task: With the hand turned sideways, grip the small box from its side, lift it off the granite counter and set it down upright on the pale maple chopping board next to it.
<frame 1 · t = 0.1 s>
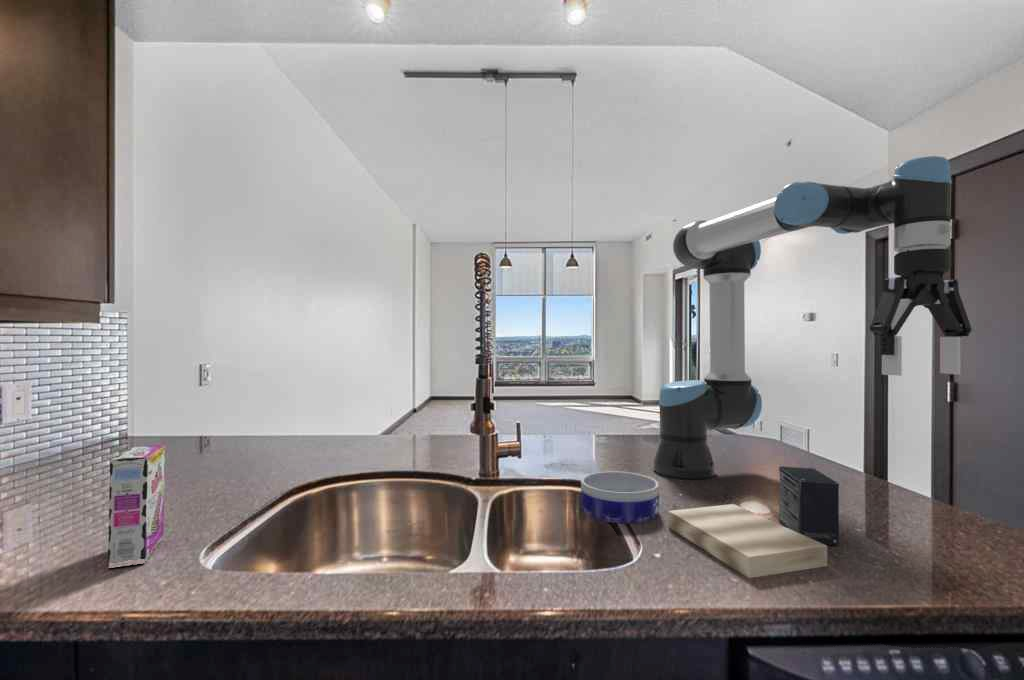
hand: (921, 374, 84), 28 cm above the worktop, tool pointing down, fingers open, 13 cm apart
candy bar box: (138, 554, 79), on the worktop
maple board: (740, 544, 81), on the worktop
small box: (807, 534, 86), on the worktop
dog bowl: (619, 512, 98), on the worktop
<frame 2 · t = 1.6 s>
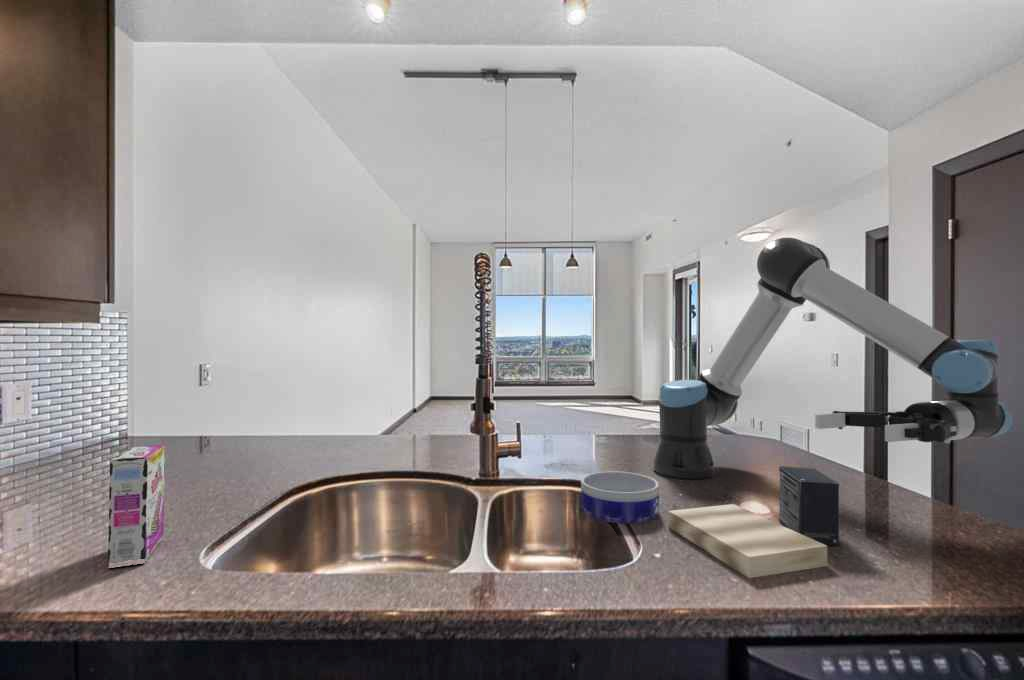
hand: (849, 427, 89), 18 cm above the worktop, tool horizontal, fingers open, 13 cm apart
nothing on the worktop moved.
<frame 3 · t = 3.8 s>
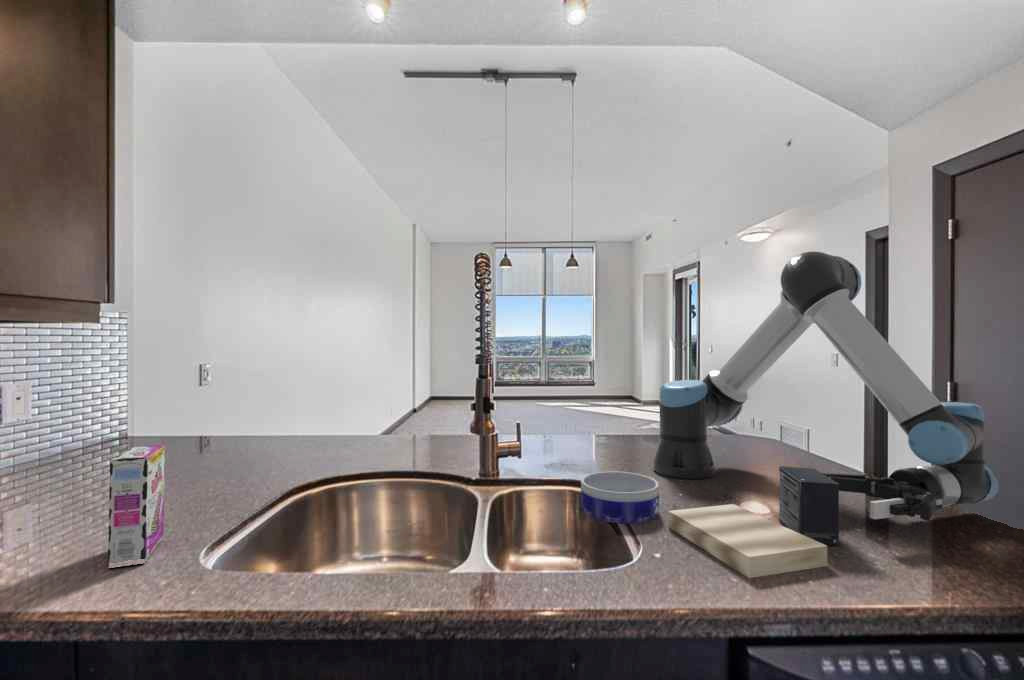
hand: (834, 497, 87), 6 cm above the worktop, tool horizontal, fingers open, 13 cm apart
nothing on the worktop moved.
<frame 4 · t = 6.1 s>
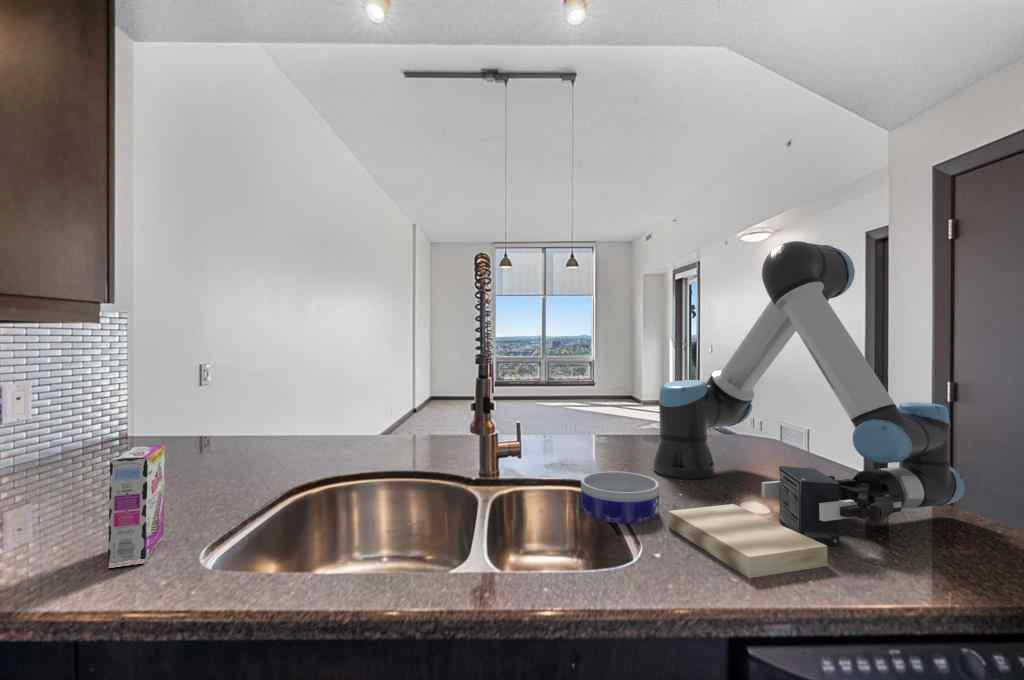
hand: (790, 500, 85), 6 cm above the worktop, tool horizontal, fingers closed on small box, 12 cm apart
small box: (808, 534, 86), on the worktop, touching gripper
everything else where it was.
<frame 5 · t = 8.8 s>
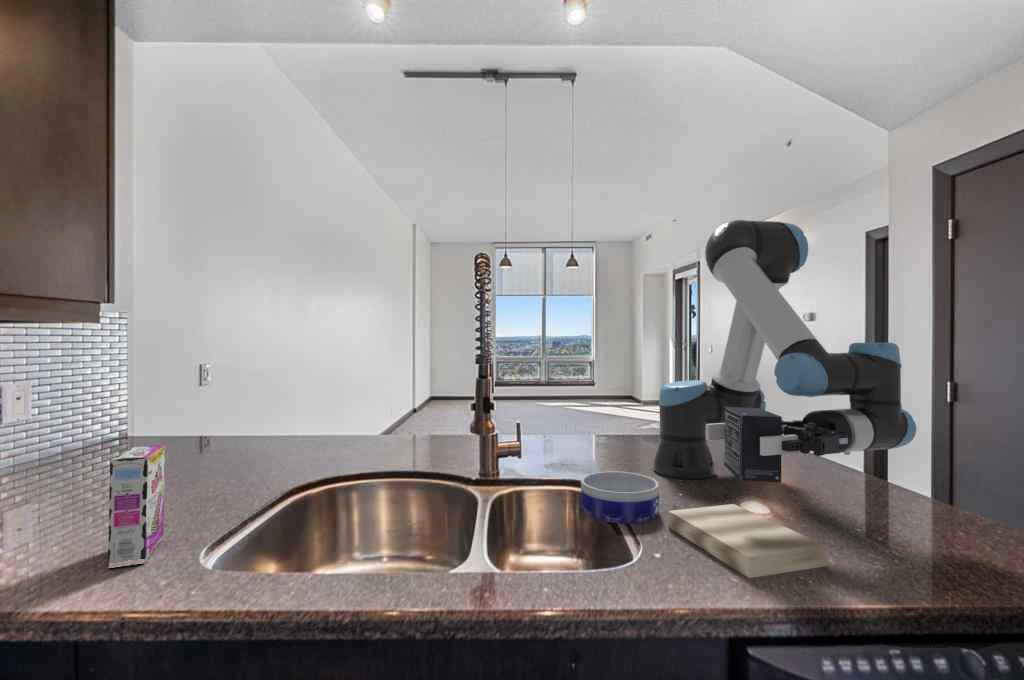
hand: (732, 438, 80), 18 cm above the worktop, tool horizontal, fingers closed on small box, 12 cm apart
small box: (751, 475, 81), point 12 cm above the worktop, touching gripper
everything else where it was.
when the fingers open (10 cm above the worktop, at t = 11.4 s): small box drops 1 cm, resting on maple board.
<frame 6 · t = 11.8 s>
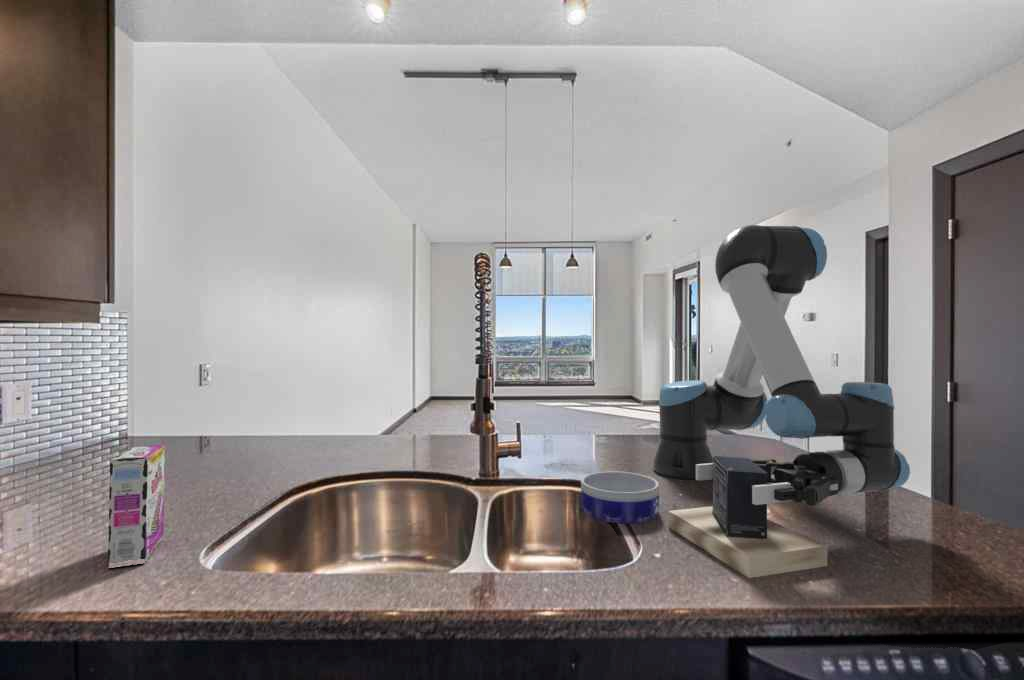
hand: (722, 482, 80), 10 cm above the worktop, tool horizontal, fingers open, 13 cm apart
small box: (738, 527, 81), point 3 cm above the worktop, touching maple board
everything else where it was.
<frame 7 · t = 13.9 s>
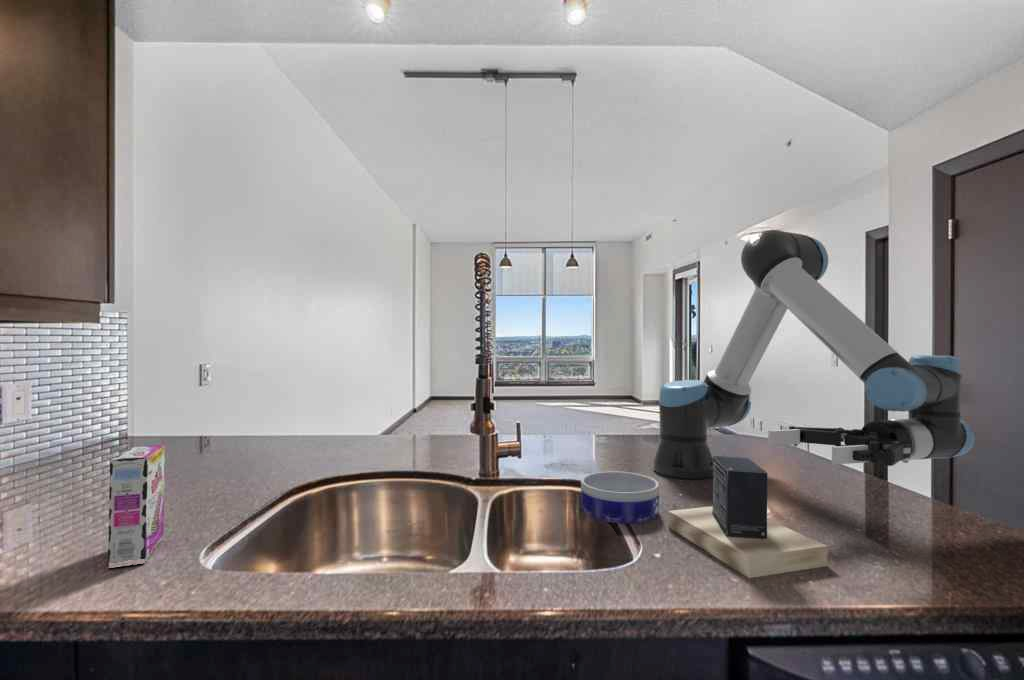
hand: (799, 446, 85), 15 cm above the worktop, tool horizontal, fingers open, 13 cm apart
nothing on the worktop moved.
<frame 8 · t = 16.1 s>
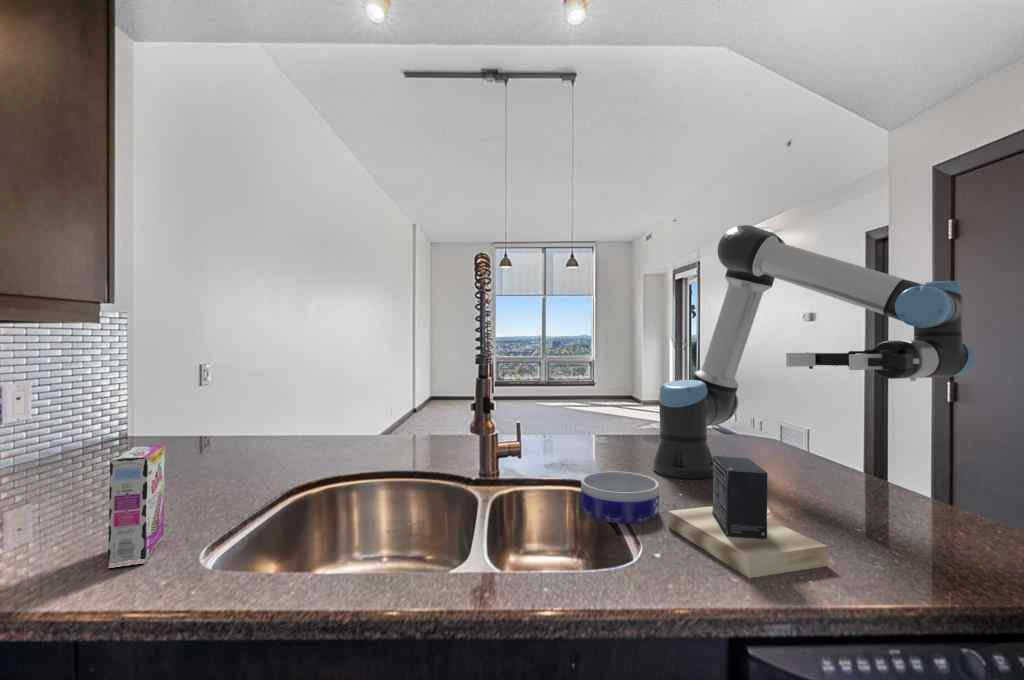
hand: (816, 360, 92), 30 cm above the worktop, tool horizontal, fingers open, 13 cm apart
nothing on the worktop moved.
at the end: small box inside the target area on the maple board (0.3 cm from its centre), point 2.8 cm above the maple board's base; small box tilted 0°; the gripper is holding nothing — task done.
